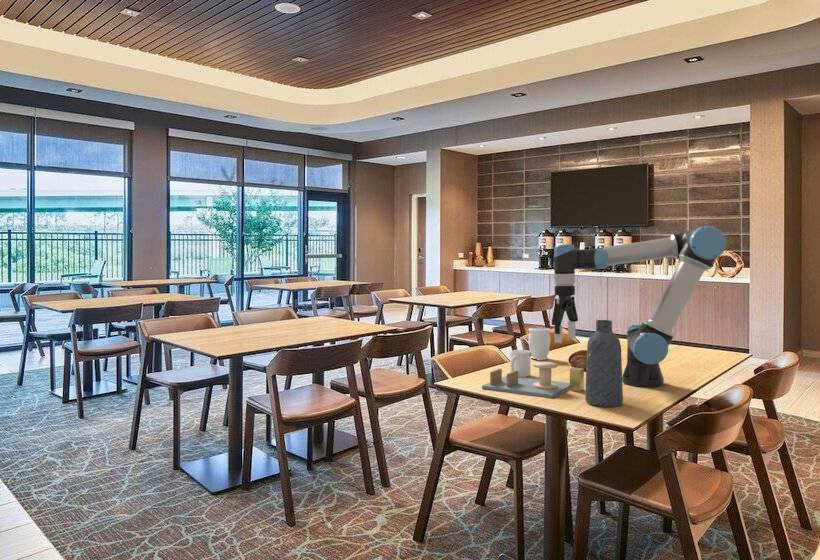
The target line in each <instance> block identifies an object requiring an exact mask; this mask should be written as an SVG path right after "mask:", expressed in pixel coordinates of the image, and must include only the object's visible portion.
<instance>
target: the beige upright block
mask: <svg viewBox="0 0 820 560" xmlns="http://www.w3.org/2000/svg"><path fill="white" fill-rule="evenodd" d="M584 373H585V372H584V369H583V368H573V367H572V368H570V369H569V383H570V389H569V391H572V392H580V393H581V392H582V391H584V390H585V389H584V388H585V386H584V385H585V382H584V381H585V379H584V378H585V377H584V376H585V375H584Z"/></svg>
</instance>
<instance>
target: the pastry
mask: <svg viewBox="0 0 820 560" xmlns="http://www.w3.org/2000/svg"><path fill="white" fill-rule="evenodd" d="M567 361H568V363H570V365H571V367H572V368H573V367H574V368H583V369H584V371H585V372H586V364H587V349H581V350H578V351H574V352H572V353H571V354H570V355H569V356H568V359H567Z"/></svg>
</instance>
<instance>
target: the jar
mask: <svg viewBox="0 0 820 560" xmlns="http://www.w3.org/2000/svg"><path fill="white" fill-rule="evenodd" d="M528 332H529V334H528V347H529V351H530V359H531V358H533V359H547V360H549V357H548V355H549V352H550V346H551V335H550V332H551V328H547V327H531V328H528ZM533 359H532V360H533Z"/></svg>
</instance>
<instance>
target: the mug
mask: <svg viewBox="0 0 820 560" xmlns="http://www.w3.org/2000/svg"><path fill="white" fill-rule="evenodd" d="M509 357H510V372H513V371H515V370H518V377H523V378H528V377H530V376H531V353H530V350H527V349H512V350H510V356H509ZM527 376H528V377H527Z"/></svg>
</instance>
